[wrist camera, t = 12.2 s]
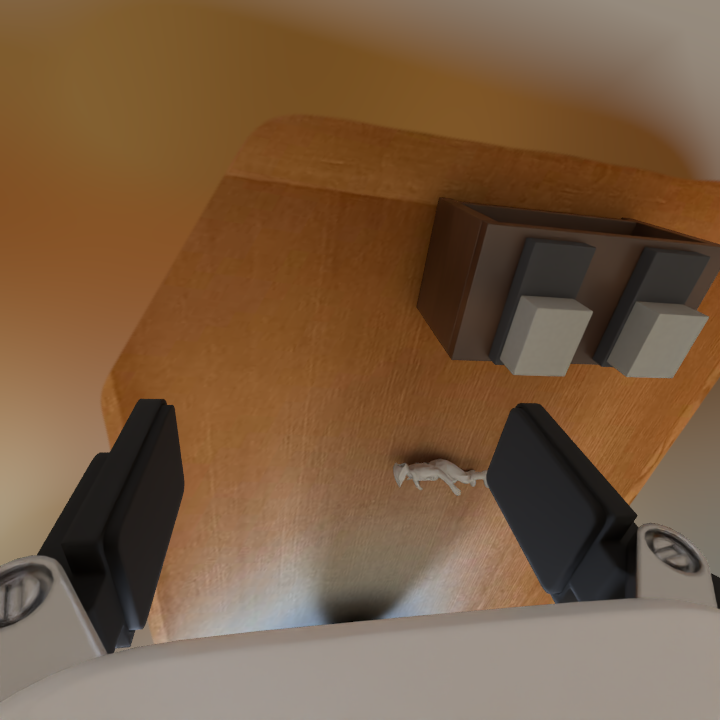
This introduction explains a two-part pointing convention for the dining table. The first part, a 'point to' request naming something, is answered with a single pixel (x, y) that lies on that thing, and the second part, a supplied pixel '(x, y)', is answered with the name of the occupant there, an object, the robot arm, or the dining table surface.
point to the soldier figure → (437, 473)
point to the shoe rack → (500, 260)
